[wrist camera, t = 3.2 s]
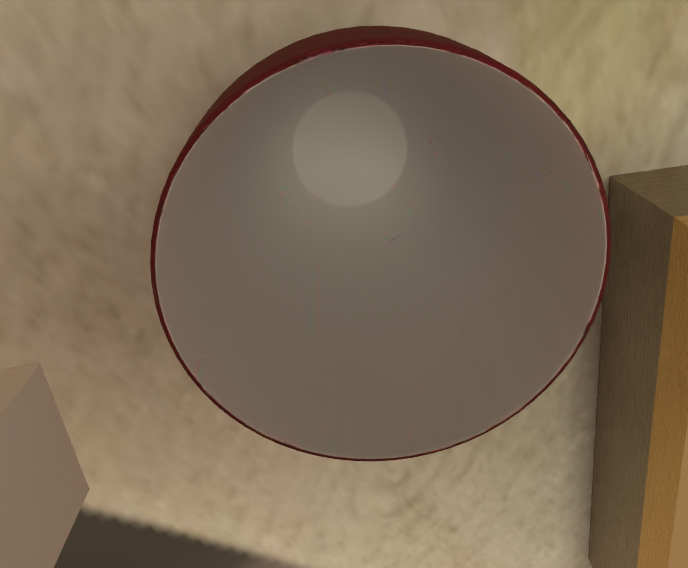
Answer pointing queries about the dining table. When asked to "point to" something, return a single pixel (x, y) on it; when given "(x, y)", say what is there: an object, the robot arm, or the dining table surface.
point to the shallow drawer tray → (643, 378)
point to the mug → (379, 245)
